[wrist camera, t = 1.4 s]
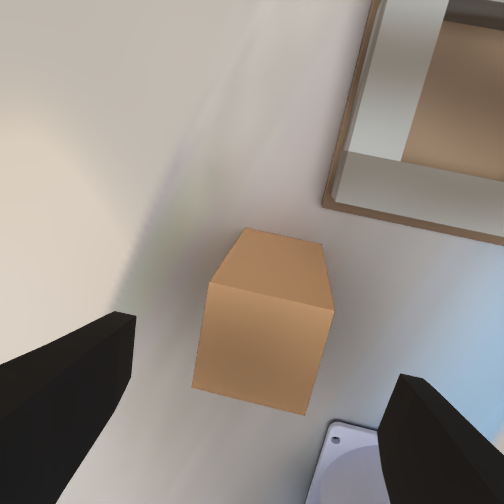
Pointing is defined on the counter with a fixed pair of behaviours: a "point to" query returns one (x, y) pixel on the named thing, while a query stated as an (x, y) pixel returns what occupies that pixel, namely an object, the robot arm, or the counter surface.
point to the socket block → (426, 120)
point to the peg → (266, 322)
